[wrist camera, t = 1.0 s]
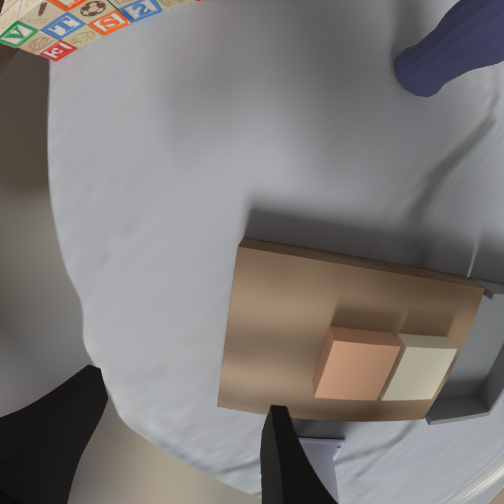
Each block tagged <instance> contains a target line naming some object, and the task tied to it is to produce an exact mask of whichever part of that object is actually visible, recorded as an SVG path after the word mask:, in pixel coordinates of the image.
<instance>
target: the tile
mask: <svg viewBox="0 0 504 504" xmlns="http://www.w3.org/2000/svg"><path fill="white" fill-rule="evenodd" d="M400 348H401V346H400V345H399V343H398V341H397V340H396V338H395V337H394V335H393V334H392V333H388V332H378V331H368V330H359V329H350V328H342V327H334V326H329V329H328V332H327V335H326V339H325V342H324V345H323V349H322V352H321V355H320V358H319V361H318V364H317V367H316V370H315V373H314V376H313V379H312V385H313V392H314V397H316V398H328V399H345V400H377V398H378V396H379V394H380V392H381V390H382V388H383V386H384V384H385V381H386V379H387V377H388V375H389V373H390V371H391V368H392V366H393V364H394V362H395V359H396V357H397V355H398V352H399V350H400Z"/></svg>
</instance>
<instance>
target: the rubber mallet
mask: <svg viewBox="0 0 504 504" xmlns="http://www.w3.org/2000/svg"><path fill="white" fill-rule="evenodd" d="M503 60H504V0H460V1H459V2H457V3H456V4H455V5H454V6H453V7H452V8H451V9H450V10H449V11H448V12H447V13H446V14H445V16H444V17H443V18H442V20H441V21H440V23H439V24H438V25H437V27H436V28H435V29H434V30H433V31H432V32H431V33H430V34H429V35H427V36H426V37H425V38H424V39H423V40H422V41H421V42H419V43H418V44H417V45H415V46H413V47H409V48H406V49H405V50H404V51H403V52H402V53H401V54H400V55H399V56H398V57H397V58H396V60H395V64H394V66H395V73H396V77H397V80H398V82H399V83H400V84H401V86H402V87H403V88H404V89H406V90H407V91H409V92H411V93H413V94H414V95H417V96H423V97H429V96H432V95H434V94H436V93H437V92H438V91H439V90H440V89H441V87H442V86H443V85H444V84H445V83H447V82H449V81H451V80H452V79H454V78H456V77H458V76H460V75H462V74H464V73H466V72H468V71H470V70H473V69H477V68H481V67H486V66H490V65H494V64H497V63H499V62H501V61H503Z"/></svg>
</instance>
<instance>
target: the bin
mask: <svg viewBox="0 0 504 504" xmlns="http://www.w3.org/2000/svg"><path fill="white" fill-rule="evenodd" d="M469 279H471V280H473V281H474V282H476V283H477V284H479V285H481V286H482V287H484V288H485V291H484V294H483V297H482V300H481V303H480V305H479V308H478V311H477V313H476V316H475V319H474V321H473V324H472V326H471V329H470V331H469V333H468V336H467V338H466V340H465V343H464V345H463V347H462V349H461V352H460V354H459V356H458V358H457V360H456V362H455V364H454V366H453V368H452V370H451V372H450V374H449V376H448V378H447V380H446V381H445V383H444V385H443V387H442V389H441V390H440V392H439V394H438V396H437V397H436V399H435V401H434V402H433V404H432V406H431V407H430V409H429V411H428V412H427V414H426V415H425V419H426V421H427V423H428V425H434V424H442V423H449V422H456V421H462V420H467V419H473V418H478V417H482V416H487V415H490V413H491V412H492V410H493V409H494V407H495V406H496V404H497V403H498V401H499V399H500V398H501V396H502V395H503V393H504V284H500V283H495V282H490V281H485V280H480V279H475V278H469Z"/></svg>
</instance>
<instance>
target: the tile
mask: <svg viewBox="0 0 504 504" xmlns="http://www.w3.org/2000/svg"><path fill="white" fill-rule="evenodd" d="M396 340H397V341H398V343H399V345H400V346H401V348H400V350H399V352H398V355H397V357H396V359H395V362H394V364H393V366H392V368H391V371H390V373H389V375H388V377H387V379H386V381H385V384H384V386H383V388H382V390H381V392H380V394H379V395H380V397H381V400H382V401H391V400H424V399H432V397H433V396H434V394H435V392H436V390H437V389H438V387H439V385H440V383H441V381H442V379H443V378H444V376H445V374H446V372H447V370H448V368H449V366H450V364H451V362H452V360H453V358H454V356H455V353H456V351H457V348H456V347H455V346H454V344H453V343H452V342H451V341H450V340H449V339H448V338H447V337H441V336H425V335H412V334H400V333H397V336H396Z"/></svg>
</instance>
